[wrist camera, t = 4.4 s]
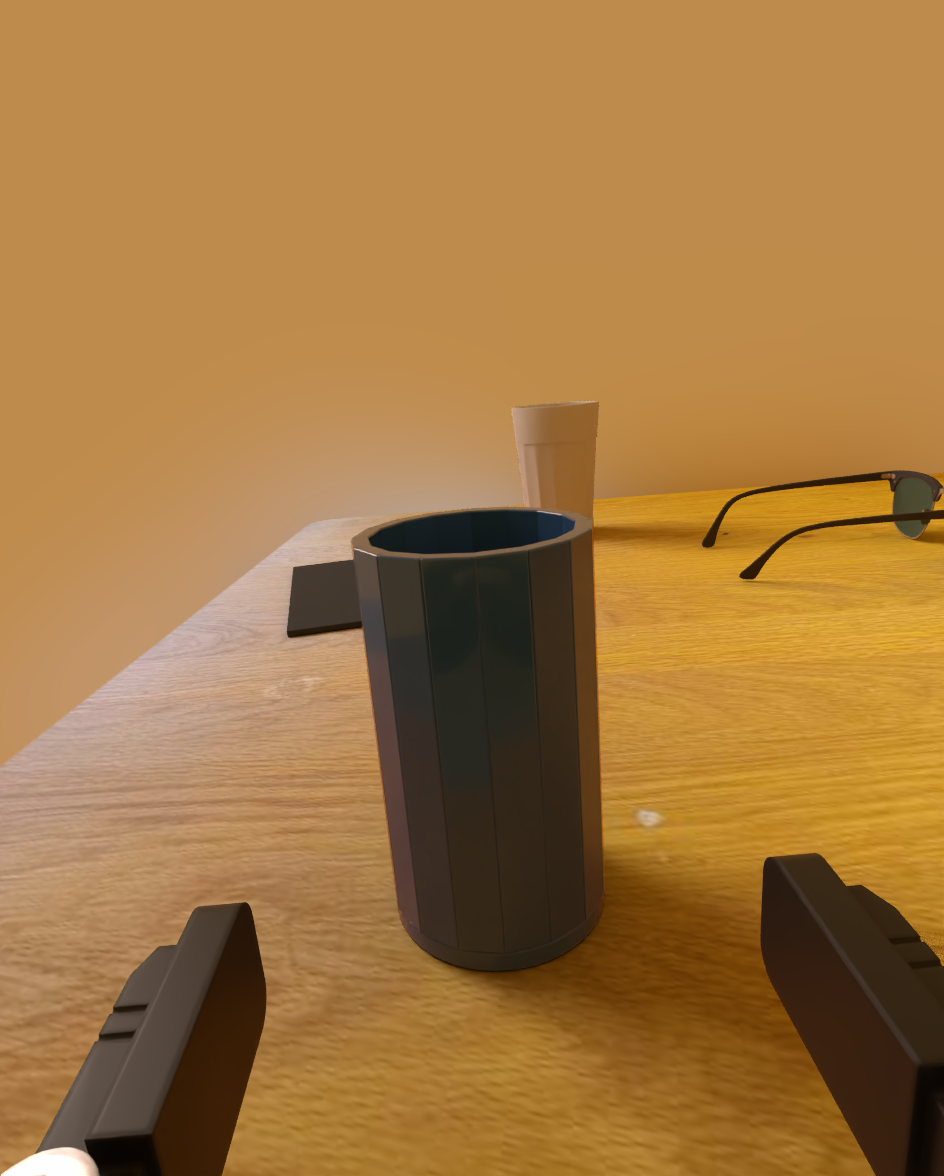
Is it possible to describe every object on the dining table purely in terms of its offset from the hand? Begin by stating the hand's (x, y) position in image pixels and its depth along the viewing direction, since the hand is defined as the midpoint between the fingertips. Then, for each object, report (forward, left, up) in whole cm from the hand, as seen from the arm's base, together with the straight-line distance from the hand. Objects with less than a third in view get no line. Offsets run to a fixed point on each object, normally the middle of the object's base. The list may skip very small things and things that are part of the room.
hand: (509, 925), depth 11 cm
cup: (+20, +56, -7) cm, 59 cm away
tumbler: (+2, +9, -6) cm, 11 cm away
